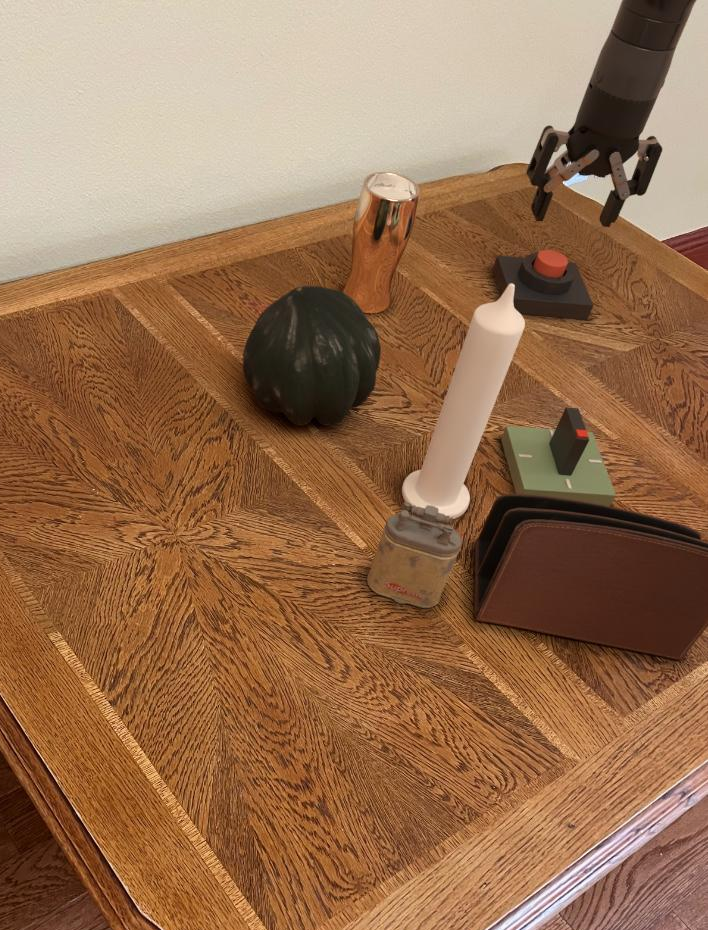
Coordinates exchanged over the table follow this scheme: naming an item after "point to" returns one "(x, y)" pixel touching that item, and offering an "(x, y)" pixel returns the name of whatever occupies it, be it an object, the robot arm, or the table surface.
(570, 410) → the dial
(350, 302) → the squash
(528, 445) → the dial panel
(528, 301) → the button housing
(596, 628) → the letter holder
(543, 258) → the red button
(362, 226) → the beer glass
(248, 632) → the table surface
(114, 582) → the table surface
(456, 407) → the candle
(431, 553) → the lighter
